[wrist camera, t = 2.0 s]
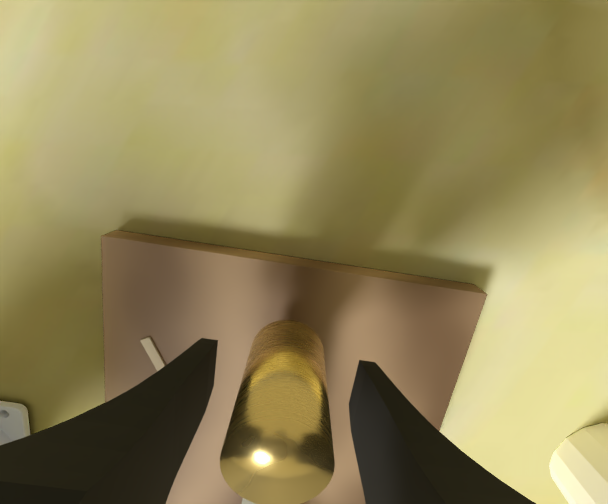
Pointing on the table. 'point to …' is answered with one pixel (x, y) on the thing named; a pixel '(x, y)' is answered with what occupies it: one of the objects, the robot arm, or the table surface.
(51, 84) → the table surface
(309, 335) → the lever
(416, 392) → the bench base
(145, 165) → the table surface
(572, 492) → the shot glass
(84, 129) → the table surface
